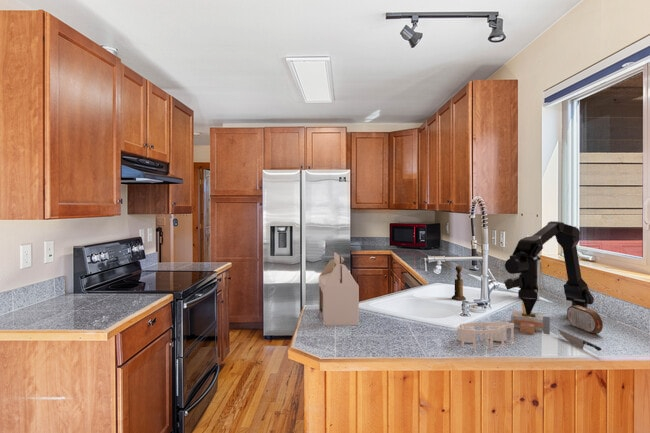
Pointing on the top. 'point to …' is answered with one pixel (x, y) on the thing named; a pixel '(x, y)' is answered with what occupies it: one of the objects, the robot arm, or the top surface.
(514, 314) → the clevis bracket
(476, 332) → the car outline toy
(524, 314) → the brass pin
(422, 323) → the top surface
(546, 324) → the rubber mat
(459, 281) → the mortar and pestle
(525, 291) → the robot arm
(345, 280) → the gable box
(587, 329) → the tin
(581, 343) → the chef's knife
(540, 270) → the water bottle
